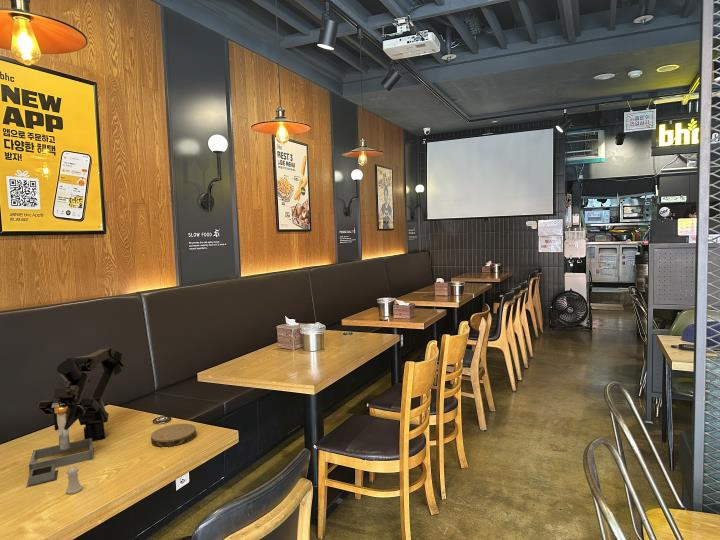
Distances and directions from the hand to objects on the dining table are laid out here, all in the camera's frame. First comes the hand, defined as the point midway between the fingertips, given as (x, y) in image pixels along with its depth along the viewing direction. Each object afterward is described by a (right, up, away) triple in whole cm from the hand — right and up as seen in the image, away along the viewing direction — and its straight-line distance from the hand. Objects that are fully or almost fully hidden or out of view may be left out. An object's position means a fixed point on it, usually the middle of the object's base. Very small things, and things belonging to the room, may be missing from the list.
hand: (60, 429), depth 162 cm
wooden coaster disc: (+31, -10, +19) cm, 38 cm away
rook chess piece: (+16, -13, -19) cm, 29 cm away
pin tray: (-1, -12, +3) cm, 12 cm away
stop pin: (0, -7, +2) cm, 7 cm away
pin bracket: (+1, -13, -11) cm, 17 cm away
